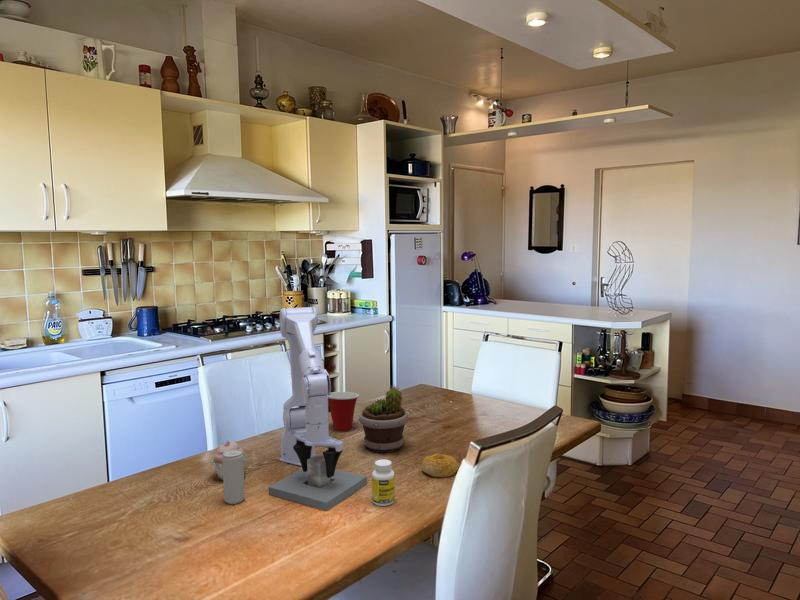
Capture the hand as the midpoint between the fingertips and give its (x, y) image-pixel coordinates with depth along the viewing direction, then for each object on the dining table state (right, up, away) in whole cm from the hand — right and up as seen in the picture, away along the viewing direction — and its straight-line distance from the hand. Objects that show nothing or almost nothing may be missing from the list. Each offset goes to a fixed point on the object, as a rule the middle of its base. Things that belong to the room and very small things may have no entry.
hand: (318, 473), depth 144 cm
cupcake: (-25, -4, +9) cm, 27 cm away
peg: (0, -4, +1) cm, 4 cm away
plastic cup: (+2, +1, +47) cm, 47 cm away
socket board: (0, -4, 0) cm, 4 cm away
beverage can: (-20, -5, -5) cm, 21 cm away
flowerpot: (+16, -1, +29) cm, 33 cm away
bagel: (+32, -3, +11) cm, 34 cm away
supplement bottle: (+17, -5, -7) cm, 19 cm away
